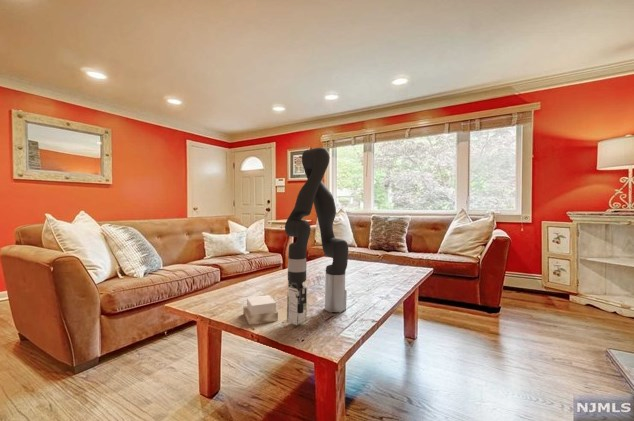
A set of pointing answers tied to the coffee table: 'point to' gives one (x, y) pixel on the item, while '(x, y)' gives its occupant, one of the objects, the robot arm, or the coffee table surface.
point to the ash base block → (259, 317)
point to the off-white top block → (261, 305)
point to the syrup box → (295, 307)
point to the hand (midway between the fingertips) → (296, 309)
